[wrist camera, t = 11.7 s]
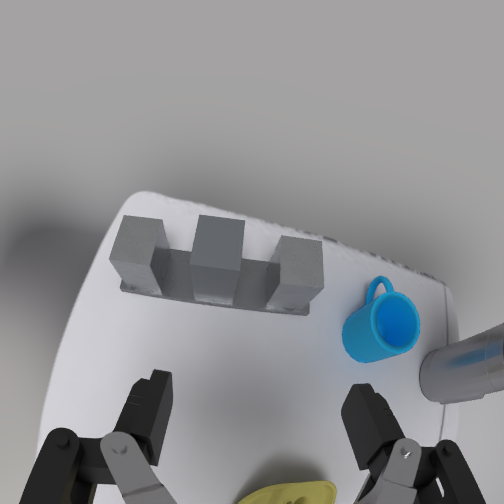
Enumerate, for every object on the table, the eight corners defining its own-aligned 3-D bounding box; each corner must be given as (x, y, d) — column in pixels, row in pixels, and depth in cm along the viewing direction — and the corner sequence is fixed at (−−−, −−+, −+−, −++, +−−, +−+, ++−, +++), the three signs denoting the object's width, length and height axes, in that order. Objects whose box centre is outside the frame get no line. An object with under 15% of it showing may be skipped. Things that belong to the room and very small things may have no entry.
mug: (387, 363, 36) (421, 353, 28) (340, 362, 35) (370, 353, 28) (385, 290, 41) (414, 269, 34) (342, 284, 41) (367, 260, 34)
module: (236, 260, 39) (245, 219, 30) (232, 302, 36) (240, 270, 27) (201, 255, 39) (199, 213, 30) (194, 297, 36) (189, 264, 27)
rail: (306, 270, 41) (329, 239, 33) (306, 315, 38) (332, 292, 30) (133, 247, 39) (118, 211, 31) (122, 291, 36) (100, 262, 27)
